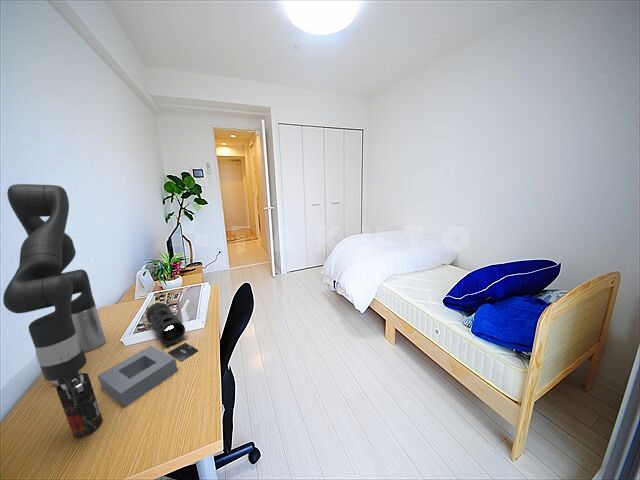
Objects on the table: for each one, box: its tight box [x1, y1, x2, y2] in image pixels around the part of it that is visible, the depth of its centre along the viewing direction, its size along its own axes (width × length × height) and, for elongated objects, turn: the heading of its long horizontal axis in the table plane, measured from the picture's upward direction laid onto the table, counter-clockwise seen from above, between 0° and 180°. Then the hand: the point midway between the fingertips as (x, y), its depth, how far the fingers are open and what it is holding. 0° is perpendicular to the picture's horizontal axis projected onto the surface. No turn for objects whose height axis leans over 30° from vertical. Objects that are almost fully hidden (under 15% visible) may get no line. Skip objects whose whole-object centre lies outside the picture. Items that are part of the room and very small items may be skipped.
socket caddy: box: [97, 345, 179, 408], centre depth 81 cm, size 16×16×5 cm
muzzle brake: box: [145, 302, 186, 345], centre depth 108 cm, size 10×28×10 cm, turn 46°
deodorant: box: [55, 372, 104, 440], centre depth 64 cm, size 6×6×15 cm
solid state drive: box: [167, 342, 199, 363], centre depth 94 cm, size 7×10×1 cm
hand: (80, 408), depth 64 cm, fingers closed on deodorant, 6 cm apart
